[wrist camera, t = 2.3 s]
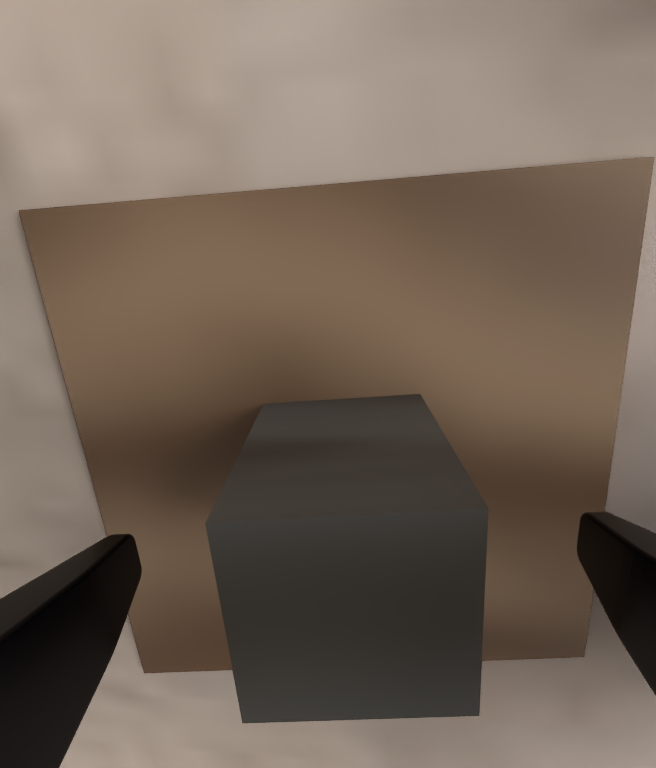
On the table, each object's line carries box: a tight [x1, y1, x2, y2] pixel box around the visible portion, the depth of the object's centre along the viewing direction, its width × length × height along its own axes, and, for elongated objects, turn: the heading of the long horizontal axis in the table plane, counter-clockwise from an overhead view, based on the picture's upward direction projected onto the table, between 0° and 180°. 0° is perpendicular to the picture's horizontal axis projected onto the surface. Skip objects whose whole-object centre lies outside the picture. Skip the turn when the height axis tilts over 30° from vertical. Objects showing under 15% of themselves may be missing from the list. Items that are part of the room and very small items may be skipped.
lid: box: [19, 157, 654, 723], centre depth 9 cm, size 14×14×6 cm
